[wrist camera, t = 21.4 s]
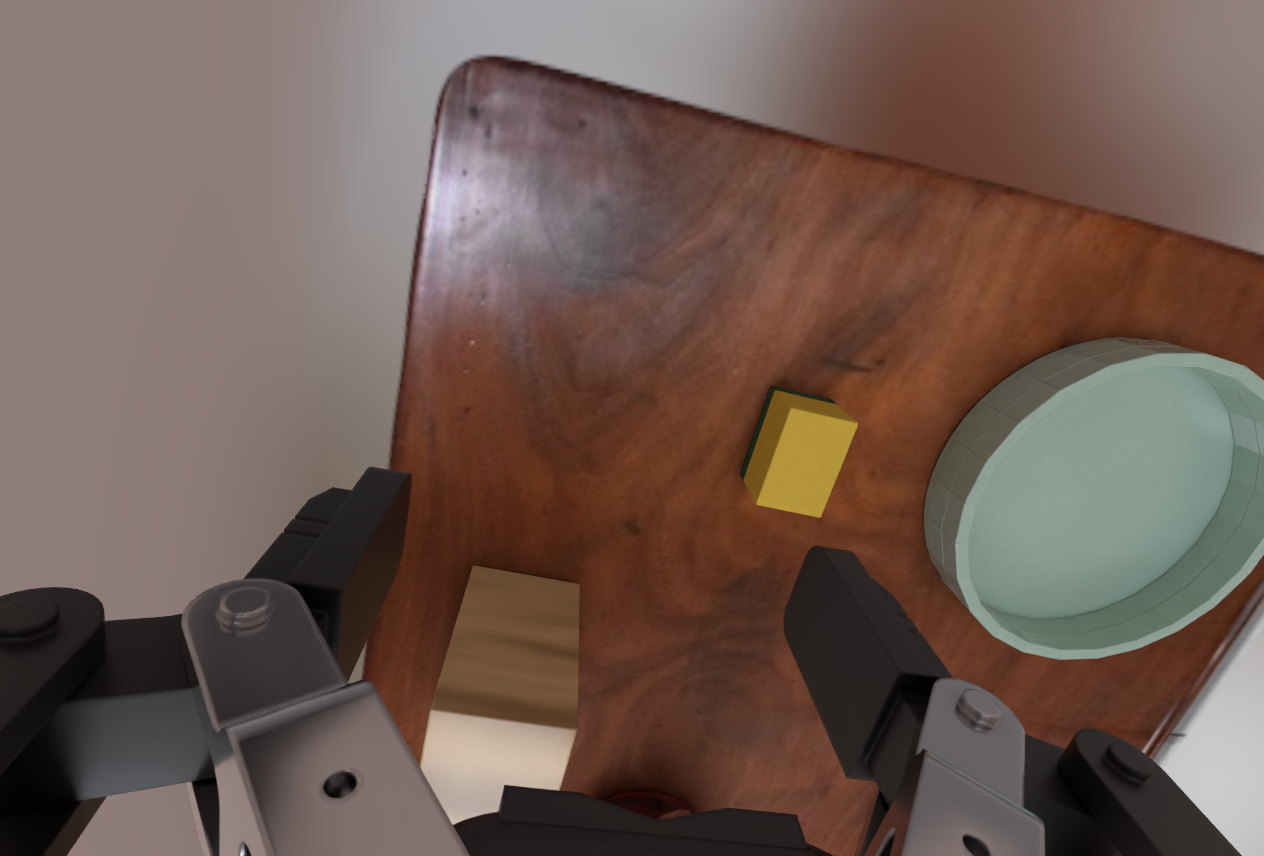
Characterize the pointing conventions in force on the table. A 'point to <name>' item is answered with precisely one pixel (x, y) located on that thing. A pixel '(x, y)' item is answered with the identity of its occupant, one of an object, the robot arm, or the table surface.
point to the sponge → (797, 451)
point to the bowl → (1101, 496)
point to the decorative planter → (652, 804)
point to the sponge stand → (504, 692)
